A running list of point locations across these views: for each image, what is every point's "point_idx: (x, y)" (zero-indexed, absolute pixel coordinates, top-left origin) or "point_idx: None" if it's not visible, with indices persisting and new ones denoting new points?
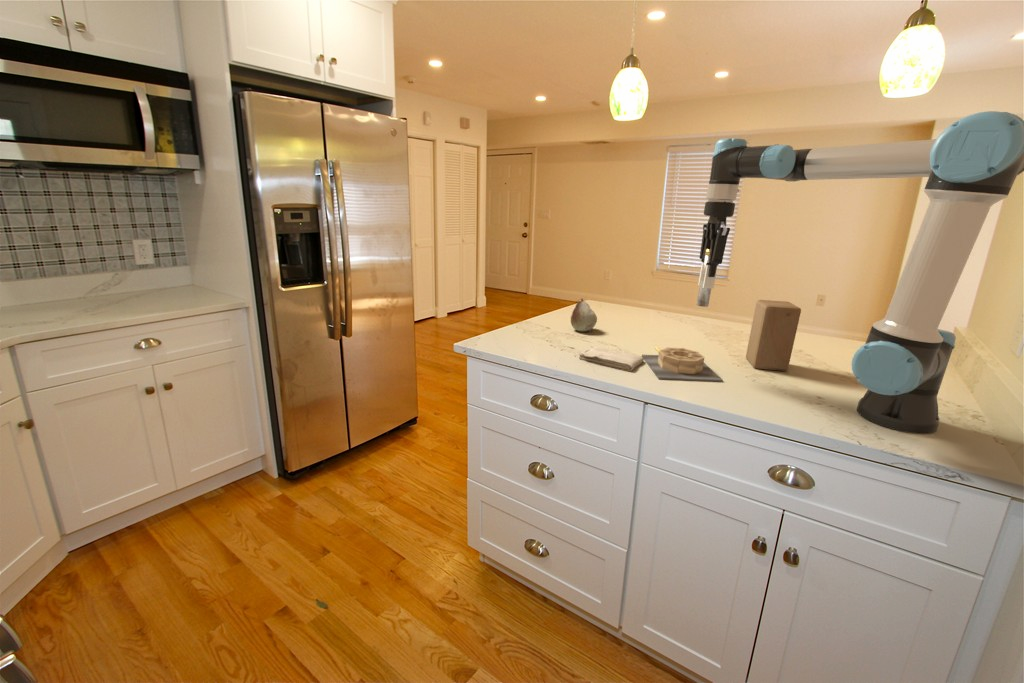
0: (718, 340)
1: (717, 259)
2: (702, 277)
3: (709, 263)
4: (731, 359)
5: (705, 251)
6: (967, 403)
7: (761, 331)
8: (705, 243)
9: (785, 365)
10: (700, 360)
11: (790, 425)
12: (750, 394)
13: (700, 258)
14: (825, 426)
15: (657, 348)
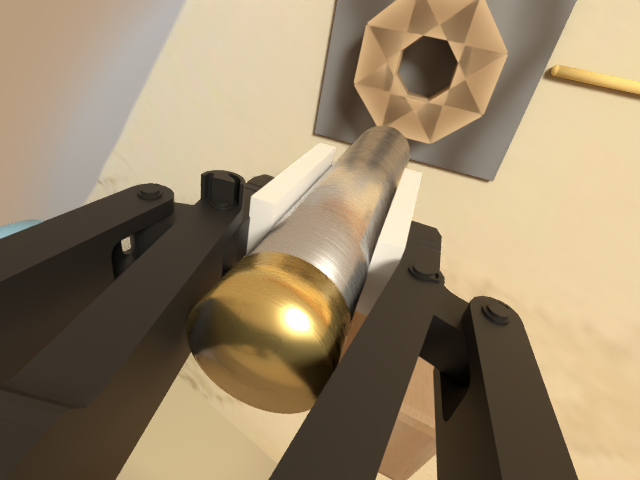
0: (626, 351)
1: (135, 241)
2: (344, 170)
3: (205, 191)
4: (457, 265)
5: (361, 330)
6: (227, 413)
7: None
8: (372, 436)
9: (353, 317)
10: (367, 107)
11: (129, 121)
12: (248, 147)
13: (482, 298)
14: (136, 177)
15: (627, 82)
